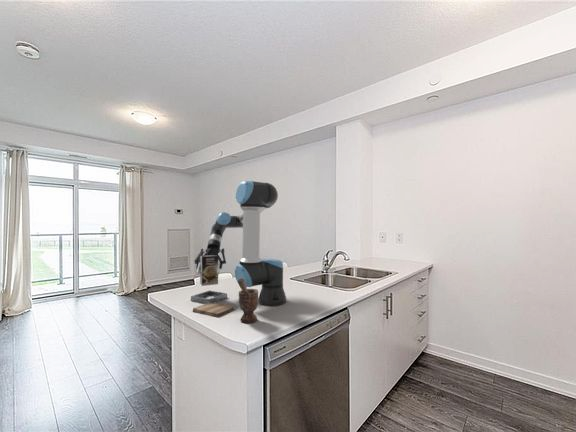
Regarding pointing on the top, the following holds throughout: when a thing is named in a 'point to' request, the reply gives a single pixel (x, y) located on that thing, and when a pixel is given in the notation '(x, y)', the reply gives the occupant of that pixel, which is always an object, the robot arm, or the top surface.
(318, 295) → the top surface
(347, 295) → the top surface
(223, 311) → the walnut board
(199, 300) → the holder ring
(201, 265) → the coffee box
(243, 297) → the mortar and pestle
